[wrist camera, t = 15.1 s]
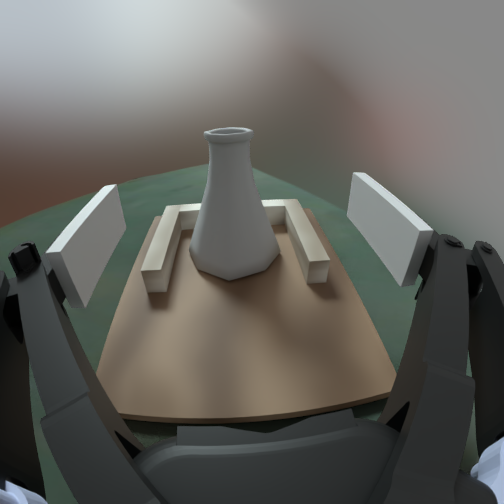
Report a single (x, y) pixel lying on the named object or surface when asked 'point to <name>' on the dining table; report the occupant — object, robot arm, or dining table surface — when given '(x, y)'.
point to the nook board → (241, 331)
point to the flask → (232, 212)
